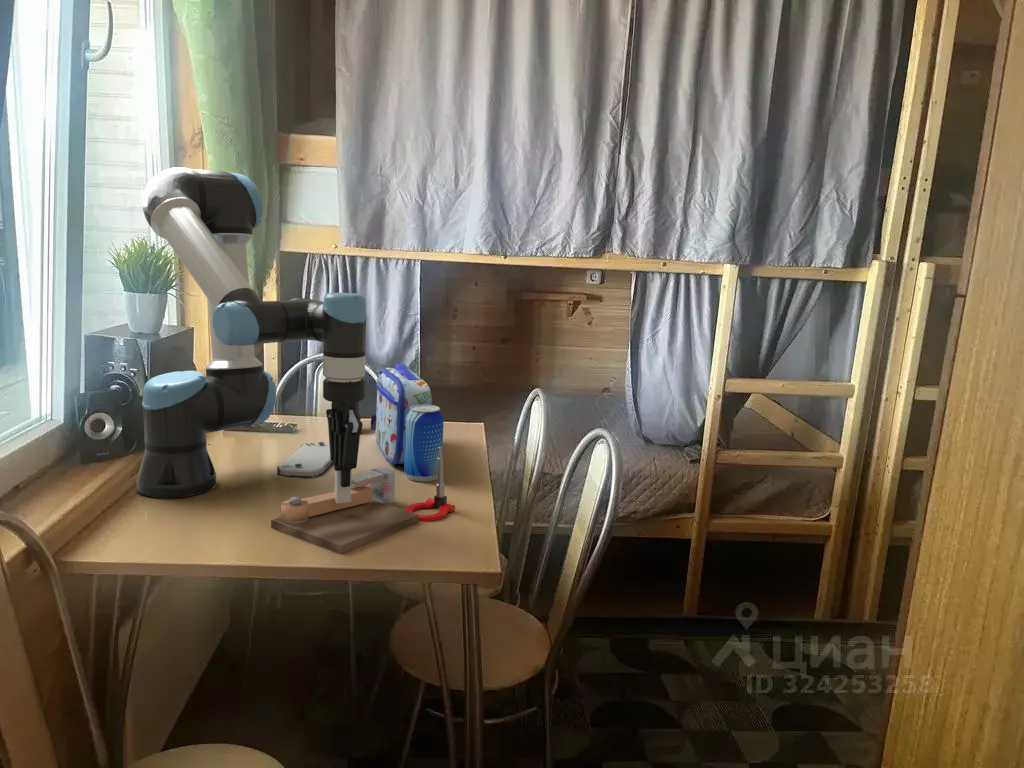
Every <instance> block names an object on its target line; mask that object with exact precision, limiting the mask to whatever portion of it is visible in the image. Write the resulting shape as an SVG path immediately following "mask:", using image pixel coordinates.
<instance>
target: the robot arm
mask: <svg viewBox="0 0 1024 768" xmlns="http://www.w3.org/2000/svg"><path fill="white" fill-rule="evenodd" d="M142 196H143V197H142V211H143V214H144V217H145V220H146V221H147V223H148V225H149V226H150V228H151V229H152V231H153V233H155V234H156V235H157V236H158V237H160V238H161V239H165V240H166V241H167V243H168V244H169V245H170V247H171V248H172V250H173V251H174V253H175V254H176V256H177V257H178V258H179V260H180V261H181V263H182V264H183V265H184V267H185V268H186V270H187V272H188V273H189V274H190V275H191V277H192V279H194V281H195V282H196V284H197V285H198V287H199V288H200V290H201V291H202V293H203V294H204V295H205V297H206V298H207V308H208V309H207V310H208V319H209V331H210V332H209V333H210V334H209V335H210V343H211V344H210V345H211V357H212V359H211V361H210V362H209V363H207V365H206V366H205V374H204V373H203V372H201V371H199V370H184V371H180V370H179V371H172V372H167V373H163V374H159V375H156V376H153V377H151V378H149V380H147V381H146V383H145V384H144V386H143V393H142V402H141V405H142V409H143V412H142V413H143V414H142V415H143V431H144V432H143V433H144V454H143V458H142V461H141V464H140V468H139V471H138V475H137V476H136V490H137V492H138V493H139V494H141V495H143V496H146V497H152V498H162V499H163V498H165V499H168V498H169V499H172V498H174V499H175V498H184V497H191V496H196V495H200V494H203V493H206V492H209V491H211V490H212V489H214V488H215V487H216V486H217V471H216V469H215V466H214V465H213V464H214V463H212V458H211V457H210V455H209V451H208V447H207V446H208V445H207V434H208V433H214V432H220V431H226V430H232V429H237V428H250V427H252V426H255V425H259V424H262V423H264V422H265V421H267V420H268V419H269V418H270V417H271V415H272V414H273V411H274V410H275V407H276V404H277V403H276V402H277V388H276V383H275V381H273V379H274V378H273V377H272V375H271V374H270V373H269V372H267V371H265V370H264V366H263V363H262V362H261V361H260V360H259V359H258V358H257V357H256V355H255V345H261V344H262V345H263V344H273V343H274V344H275V343H285V342H286V343H287V342H299V341H301V342H302V341H315V342H321V343H322V344H323V350H322V351H323V354H322V376H323V377H324V379H323V381H322V397H323V399H324V400H325V401H327V402H331V408H327V409H326V411H325V414H326V419H327V427H328V444H330V459H331V461H333V462H332V463H333V464H332V465H333V466H334V492H335V502H336V503H337V504H339V503H346V502H351V488H352V486H351V475H352V470H354V469H356V468H357V465H358V456H359V450H360V449H359V448H360V440H361V439H360V438H361V432H362V430H363V425H364V424H363V422H362V420H360V422H357V418H358V412H357V410H356V403H357V402H358V401H359V402H362V401H363V400H365V397H366V395H365V394H366V381H365V379H364V377H365V375H366V365H367V364H368V360H367V359H366V345H367V343H366V342H367V341H366V339H367V320H368V315H367V305H366V302H367V301H366V298H365V296H363V295H362V294H361V293H354V292H353V293H352V292H327V293H326V294H324V296H323V301H322V300H316V299H312V298H310V297H303V298H301V297H298V298H297V297H295V298H291V299H289V300H266V301H265V300H262V299H261V298H260V297H259V295H258V294H257V292H255V291H254V289H253V288H252V287H251V285H250V280H249V279H250V278H249V276H250V275H249V264H248V253H247V251H248V250H247V244H248V243H249V242H250V241H251V240H252V238H253V237H254V234H253V230H254V229H256V228H258V227H259V226H260V224H261V222H262V217H263V213H264V212H263V211H264V209H263V201H262V197H261V194H260V191H259V189H258V187H257V185H256V184H255V183H254V182H253V180H252V179H251V178H250V177H248V176H247V175H245V174H241V173H240V174H239V173H235V172H232V171H231V172H230V171H229V170H227V171H223V170H211V169H199V168H198V169H197V168H188V167H180V166H179V167H177V166H176V167H171V168H167V169H164V170H162V171H160V172H158V173H157V174H155V175H154V176H153V177H152V178H151V179H150V181H149V182H148V183H147V184H146V187H145V189H144V192H143V195H142Z"/></svg>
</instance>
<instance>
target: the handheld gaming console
mask: <svg viewBox="0 0 1024 768" xmlns="http://www.w3.org/2000/svg"><path fill="white" fill-rule="evenodd" d="M332 463H334V461H331V459H330V444H329V443H327V442H326V443H325V442H323V441H321V442H320V441H319V442H307V443H306V442H305V443H304V444H301V445H300V447H299V448H298V449H297V450H296V451H295V452H294V453H292V454H291V455H290V456H289V457H288V458H286V460H284V461H283V462H282V464H280V465H277V467H276V475H277V474H282V475H281V476H283V475H289V476H288V477H293V476H303V477H302V478H312V477H311V476H315V477H318V476H317V475H319V476H320V475H322V474H323V473H324V472H325V471H326V469H328V467H329V466H330V465H331V464H332ZM321 473H322V474H321Z"/></svg>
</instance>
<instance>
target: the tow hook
mask: <svg viewBox="0 0 1024 768" xmlns="http://www.w3.org/2000/svg"><path fill="white" fill-rule="evenodd" d="M436 480H437V481H436V482H437V483H436V487H435V488H436V495H434V497H433V498H432V497H431V498H430V497H428V498H427V499H426V501H422V502H416V503H411V504H409V505H408V506H406V507H405V508H404V510H405V511H408V512H412V513H414V511H416V510H420V509H430V508H435V509H438V512H436V513H433V514H418V515H419V522H434V521H438V520H441V519H443V518H445V517H446V516H447V515H448V513H453V512H455V510H456V506H455V505H454V504H451V503H448V497H447V496H446V495H445V483H444V457H443V450H442V447H438V457H437V479H436Z"/></svg>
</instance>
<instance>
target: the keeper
mask: <svg viewBox="0 0 1024 768" xmlns="http://www.w3.org/2000/svg"><path fill="white" fill-rule="evenodd" d="M367 485H369V488H371V489H372V500H374V501H377V502H380V503H383V504H386V505H389V504H392V503H395V497H396V496H395V494H396V493H395V489H396V488H395V487H396V486H395V485H396V471H395V470H392V469H390V468H386V467H383V466H381V467H380V466H379V467H377V468H372V469H368V470H364V471H361V472H357V473H351V487H352V488H353V487H356V488H357V487H360V486H367Z"/></svg>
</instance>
